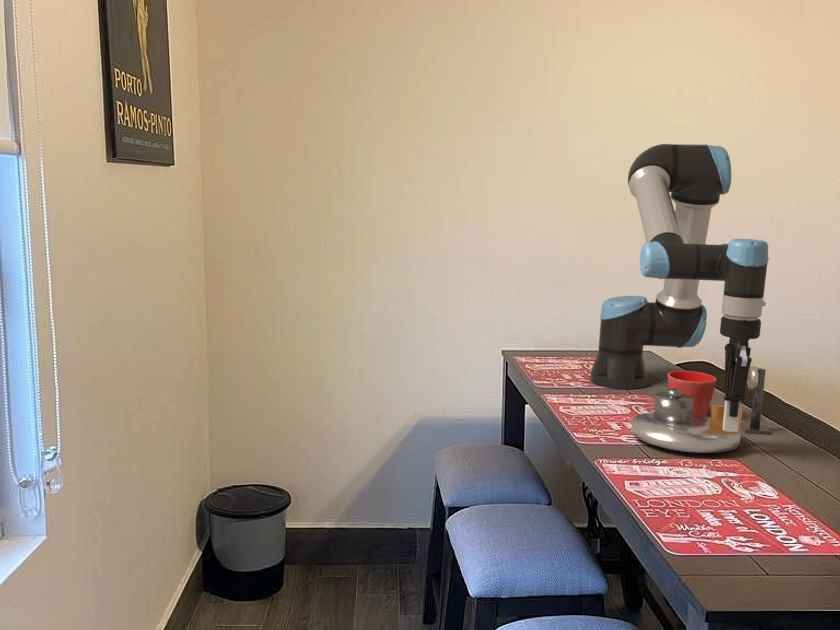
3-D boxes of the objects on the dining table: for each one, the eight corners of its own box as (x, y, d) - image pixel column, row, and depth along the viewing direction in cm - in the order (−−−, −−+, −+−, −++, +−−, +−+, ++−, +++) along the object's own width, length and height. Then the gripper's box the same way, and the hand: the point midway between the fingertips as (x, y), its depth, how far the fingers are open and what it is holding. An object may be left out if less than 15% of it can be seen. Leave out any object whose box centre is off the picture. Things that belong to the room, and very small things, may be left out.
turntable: (627, 417, 189) (629, 387, 188) (728, 424, 186) (730, 394, 185) (636, 447, 168) (639, 414, 167) (750, 456, 165) (754, 422, 163)
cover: (651, 412, 186) (653, 384, 185) (688, 415, 185) (691, 386, 184) (655, 423, 179) (658, 393, 177) (694, 425, 177) (697, 396, 176)
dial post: (740, 426, 189) (746, 363, 187) (763, 427, 188) (770, 365, 186) (745, 432, 184) (751, 368, 182) (769, 434, 184) (775, 370, 181)
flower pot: (716, 424, 190) (720, 383, 188) (666, 420, 192) (669, 379, 190) (709, 412, 200) (713, 372, 199) (662, 408, 202) (665, 369, 201)
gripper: (769, 323, 160) (756, 441, 164) (753, 312, 172) (742, 422, 176) (728, 321, 161) (717, 438, 165) (715, 310, 173) (705, 420, 177)
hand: (730, 430), depth 171 cm, fingers closed
